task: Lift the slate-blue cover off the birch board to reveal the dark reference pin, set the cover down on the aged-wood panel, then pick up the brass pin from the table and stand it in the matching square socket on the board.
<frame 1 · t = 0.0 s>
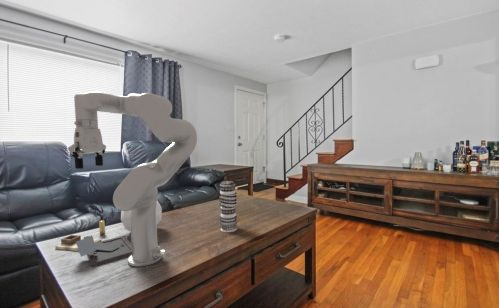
hand: (89, 166, 103), 37 cm above the table, tool pointing down, fingers open, 9 cm apart
board: (79, 245, 115), on the table
geometric orb: (142, 232, 130), on the table
picture frame: (110, 251, 108), on the table, touching board
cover: (78, 249, 98), point 5 cm above the table, tilted 77°
brass pin: (102, 234, 127), on the table
decorative candle: (228, 229, 131), on the table
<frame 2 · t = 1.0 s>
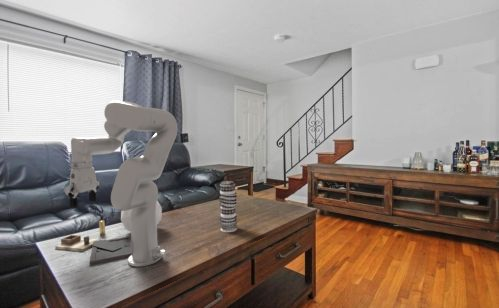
hand: (83, 203, 112), 20 cm above the table, tool pointing down, fingers open, 9 cm apart
picture frame: (113, 251, 109), on the table, touching arm, board
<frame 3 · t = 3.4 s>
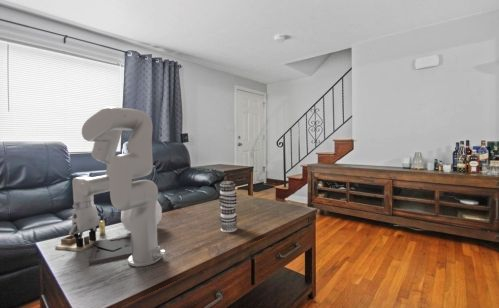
hand: (86, 243, 114), 1 cm above the table, tool pointing down, fingers closed on board, 6 cm apart
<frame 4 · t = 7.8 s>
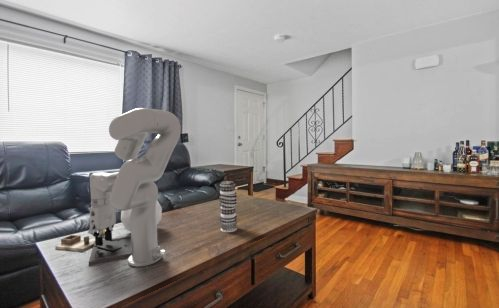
hand: (104, 242, 109), 3 cm above the table, tool pointing down, fingers open, 4 cm apart
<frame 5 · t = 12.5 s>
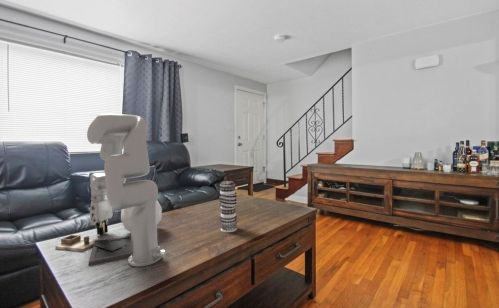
hand: (102, 233, 127), 1 cm above the table, tool pointing down, fingers closed on brass pin, 2 cm apart
brass pin: (102, 234, 127), on the table, touching gripper
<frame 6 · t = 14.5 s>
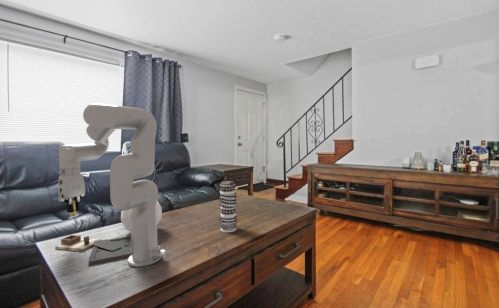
hand: (73, 211, 116), 15 cm above the table, tool pointing down, fingers closed on brass pin
brass pin: (73, 215, 116), point 13 cm above the table, touching gripper
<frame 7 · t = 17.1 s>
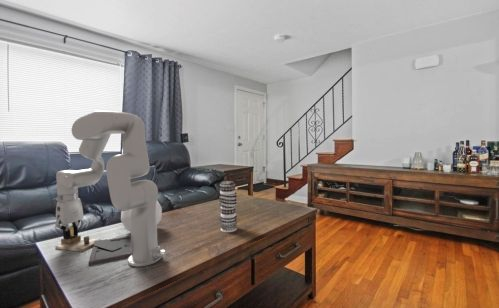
hand: (70, 236, 115), 4 cm above the table, tool pointing down, fingers open, 3 cm apart
brass pin: (71, 241, 116), point 1 cm above the table, touching board
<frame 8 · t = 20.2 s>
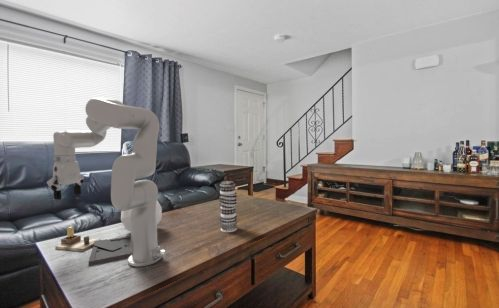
hand: (68, 196, 114), 22 cm above the table, tool pointing down, fingers open, 9 cm apart
at the end: brass pin 0.0 cm from the target spot on the board, point 1.2 cm above the board's base; brass pin tilted 1° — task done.
